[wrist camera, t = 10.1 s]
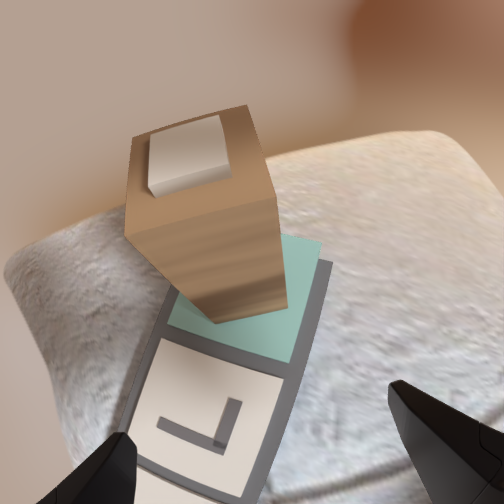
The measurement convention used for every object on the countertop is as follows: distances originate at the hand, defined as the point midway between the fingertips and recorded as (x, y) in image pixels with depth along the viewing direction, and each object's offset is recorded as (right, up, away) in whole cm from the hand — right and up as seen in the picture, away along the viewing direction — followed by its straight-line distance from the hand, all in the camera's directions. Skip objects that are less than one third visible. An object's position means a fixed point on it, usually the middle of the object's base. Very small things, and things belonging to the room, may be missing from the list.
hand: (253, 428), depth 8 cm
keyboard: (-3, -5, +9) cm, 10 cm away
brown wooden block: (-1, +4, +11) cm, 11 cm away
